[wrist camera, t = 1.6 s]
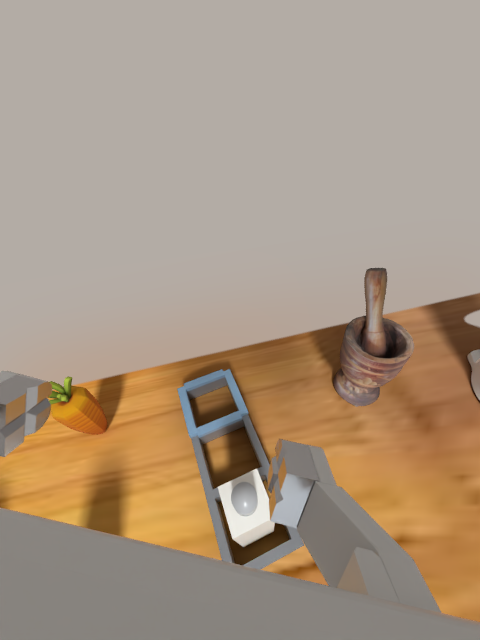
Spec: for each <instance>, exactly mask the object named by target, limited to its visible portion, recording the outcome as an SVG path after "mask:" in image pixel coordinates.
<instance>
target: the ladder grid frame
mask: <svg viewBox="0 0 480 640" xmlns="http://www.w3.org/2000/svg"><path fill="white" fill-rule="evenodd" d="M224 386H228V388H229V391H230V393H231V396H232V398H233V400H234V403H235V405H236V408H237V410H238V411H236V412H234V413H232V414H229V415H227V416H224V417H222V418H220V419H217V420H215V421H212V422H210V423H207V424H205V425H203V426H200V427H198V428H197V424H196V421H195V417H194V413H193V410H192V406H191V403H190V400H191V399H193V398H196V397H199V396H201V395H204V394H206V393H209V392H211V391H214V390H216V389H219V388H222V387H224ZM178 393H179V397H180V401H181V405H182V409H183V413H184V417H185V421H186V425H187V429H188V433H189V437H190V438H191V439H192V443H193V447H194V451H195V455H196V459H197V463H198V467H199V471H200V475H201V479H202V483H203V487H204V491H205V495H206V499H207V503H208V507H209V510H210V514H211V518H212V522H213V526H214V530H215V534H216V538H217V542H218V546H219V550H220V554H221V558H222V561H226V562H230V563H234V564H235V561H234V558H233V554H232V550H231V547H230V543H229V539H228V536H227V532H226V529H225V525H224V521H223V518H222V514H221V511H220V507H219V503H218V502H220V501H221V497H220V494H219V490H218V487H217V488H215V489H214V485H213V482H212V478H211V475H210V471H209V467H208V464H207V460H206V457H205V453H204V449H203V446H202V444H205V443H207V442H209V441H211V440H214V439H216V438H218V437H221V436H223V435H225V434H228V433H230V432H232V431H235V430H237V429H239V428H242V427H244V428H245V430H246V433H247V435H248V438H249V440H250V442H251V445H252V447H253V450H254V452H255V455H256V457H257V460H258V462H259V465H260V468H258V469H257V470H258V472H259V475H260V477H261V480H262V481H264V480H266V482H267V484H268V472H269V466H270V465H269V462H268V460H267V458H266V455H265V453H264V451H263V448H262V446H261V444H260V441H259V439H258V437H257V434H256V432H255V430H254V427H253V425H252V423H251V420H250V418H249V416H248V410H247V408H246V405H245V403H244V401H243V399H242V396H241V394H240V392H239V389H238V387H237V385H236V382H235V380H234V378H233V375H232V373H231V371H230V369H228V370H226V371H223V370H222V369H221V370H219V371H216V372H213V373H211V374H208V375H205V376H203V377H200V378H197V379H195V380H192V381H189V382H187V383H184V386H183V387H181V388H178ZM284 526H285V529H286V531H287V534H288V536H289V539H290V540H288V541H287V542H285V543H283V544H281V545H279V546H277V547H276V548H274V549H272V550H270V551H268V552H266V553H264V554H263V555H261V556H259V557H257V558H255V559H253V560H252V561H250V562H248V563H246V564H244V565H242V566H247V567H251V568H255V569H259V570H260V569H262V568H264V567H266V566H267V565H269V564H271V563H273V562H275V561H276V560H278V559H280V558H282V557H284V556H286V555H287V554H289V553H291V552H293V551H295V550H296V549H298V548H300V547H302V546H304V544H303V541H302V539H301V537H300V535H299V533H298V531H297V528H293V527H290V526H286V525H284Z"/></svg>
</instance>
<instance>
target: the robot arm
mask: <svg viewBox="0 0 480 640" xmlns="http://www.w3.org/2000/svg"><path fill="white" fill-rule="evenodd" d="M468 360H469V363H470V365H471V367H472V375H471V382H472V387H473V389H474V392H475V394H476V396H477V397H478V399H479V400H480V349H479V350H474V351H472V352H470V353H469V354H468ZM51 394H52V384H51V383H50V382H48V381H43V380H40V379H36V378H32V377H29V376H25V375H20V374H17V373H13V372H9V371H2V372H0V456H2V457H5V456H6V455H8V454H9V453H10V452H11V451H13V450H14V449H15V448H16V447H18V446H19V445H20V444H21V443H23V442H24V437H25V436H26V435H29V434H32V433H35V432H36V431H37V430H39V429H40V428H41V427H42V426H43V425H44V423H45V422H46V420H47V419H48V417H49V414H50V410H51V404H50V402H49V401H48V399H47V398H48V397H49V396H50V395H51ZM275 451H276V456H275V457H274V458H272V460H271V463H270V466H269V472H268V490H269V491H270V493H271V496H270V499H269V511H270V521H272V522H275V523H279V524H282V525H286V526H290V527H293V528H297V531H298V533H299V535H300V537H301V538H302V540H303V542H304V544H305V545H306V547H307V549H308V550H309V552H310V554H311V556H312V557H313V559H314V561H315V563H316V564H317V566H318V568H319V570H320V571H321V573H322V575H323V576H324V578H325V580H326V582H327V583H328V585H329V586H326V585H322V584H318V583H314V582H310V581H305V580H301V579H297V578H293V577H289V576H285V575H280V574H276V573H272V572H268V571H263V570H259V569H255V568H251V567H247V566H242V565H238V564H234V563H230V562H226V561H221V560H217V559H213V558H209V557H205V556H201V555H197V554H192V553H188V552H184V551H180V550H176V549H172V548H167V547H163V546H159V545H155V544H151V543H147V542H143V541H138V540H134V539H130V538H126V537H122V536H118V535H113V534H109V533H105V532H101V531H97V530H92V529H88V528H84V527H80V526H76V525H72V524H67V523H63V522H59V521H55V520H51V519H46V518H42V517H38V516H34V515H30V514H25V513H21V512H17V511H13V510H9V509H5V508H0V640H480V622H477V621H473V620H468V619H464V618H460V617H456V616H452V615H448V614H443V613H441V611H440V609H439V607H438V605H437V603H436V601H435V600H434V598H433V596H432V594H431V592H430V590H429V588H428V586H427V585H426V583H425V581H424V579H423V577H422V575H421V573H420V571H419V570H418V568H417V566H416V564H415V562H414V560H413V559H412V558H411V557H410V556H409V555H408V554H407V553H406V552H405V551H404V550H403V549H402V548H401V547H400V546H399V545H398V544H397V543H396V542H395V541H394V540H393V539H392V538H391V537H390V536H389V535H388V534H387V533H386V532H385V531H384V530H383V529H382V528H381V527H380V526H379V525H378V524H377V523H376V522H375V521H374V520H373V519H372V518H371V517H370V516H369V515H368V513H367V512H366V511H365V510H364V509H363V508H362V507H361V506H360V505H359V504H358V503H357V502H356V501H355V500H354V499H353V498H352V497H351V496H350V495H349V494H348V493H347V492H346V491H345V490H344V489H343V488H342V487H338V486H337V485H336V482H335V480H334V477H333V475H332V472H331V469H330V467H329V464H328V461H327V459H326V456H325V453H324V451H323V449H322V448H320V447H316V446H311V445H304V444H300V443H296V442H292V441H287V440H283V439H279V440H278V442H277V444H276V447H275Z"/></svg>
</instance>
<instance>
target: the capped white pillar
mask: <svg viewBox="0 0 480 640" xmlns="http://www.w3.org/2000/svg"><path fill="white" fill-rule="evenodd" d="M218 490H219V494H220V497H221V501H222V504H223V508H224V511H225V515H226V518H227V522H228V525H229V529H230V532H231V536H232V539H233V540H234V541H236V542H237V543H239V544H240V545H241V546H243V547H246V546H247V545H249V544H251V543H253V542H255V541H257V540H259V539H261V538H263V537H264V536H266V535H268V534H270V533H272V532H274V526H275V522H272V521H270V511H269V498H268V495H267V493H266V490H265V488H264V485H263V483H262V480H261V477H260V475H259V472H258V470H257V469H255V470H253V471H250V472H248V473H246V474H244V475H242V476H240V477H238V478H235V479H233V480H231V481H229V482H227V483H225V484H223V485H221V486H218Z"/></svg>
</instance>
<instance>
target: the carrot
mask: <svg viewBox="0 0 480 640" xmlns="http://www.w3.org/2000/svg"><path fill="white" fill-rule="evenodd" d="M71 382H72V377H67V378H65V380H64V387H62V386H61V385H59V384H57V383H55V382H52V381H51V382H50V383H51V384H52V389H55V390H57V391H59V393H58V392H55V391H52V394H51V395H50V396H49V397H48V398H55V399H54V400H50V401H49V402H50V404H51V412H52V416H53V418H54V419H55V420H57V421H59V422H60V423H62V424H64V425H65V426H67V427H69V428H71V429H73V430H76V431H80V432H83V433H88V434H101V433H103V432H105V431H106V429H107V420H106V417H105V414H104V412H103V410H102V408H101V406H100V404H99V403H98V401H97V400H96V399H95V398H94V397H93V395H92V394H91V393H90V392H89V391H88V390H87V389H86V388H83V387H76V386H71Z"/></svg>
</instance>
